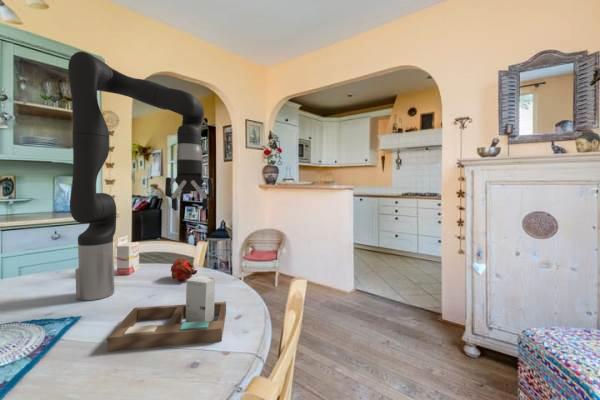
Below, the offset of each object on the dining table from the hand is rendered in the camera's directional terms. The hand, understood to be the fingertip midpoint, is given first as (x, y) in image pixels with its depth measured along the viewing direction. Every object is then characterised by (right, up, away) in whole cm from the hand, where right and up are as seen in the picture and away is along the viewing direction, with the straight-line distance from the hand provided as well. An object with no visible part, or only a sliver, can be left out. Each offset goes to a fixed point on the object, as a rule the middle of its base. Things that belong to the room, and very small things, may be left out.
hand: (190, 210), depth 90 cm
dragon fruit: (-10, -27, +18) cm, 34 cm away
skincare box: (+9, -29, -16) cm, 35 cm away
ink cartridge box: (-36, -27, +26) cm, 52 cm away
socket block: (+4, -29, -19) cm, 35 cm away
